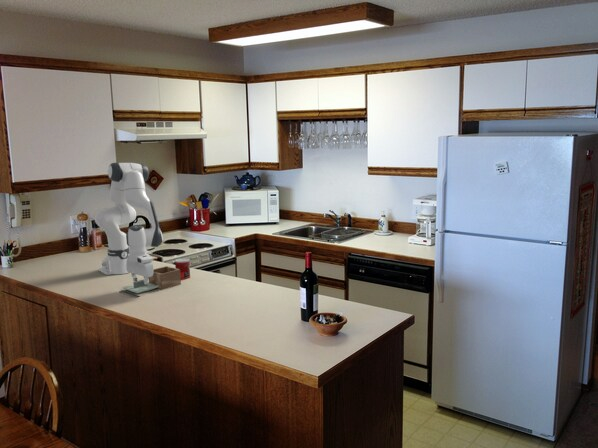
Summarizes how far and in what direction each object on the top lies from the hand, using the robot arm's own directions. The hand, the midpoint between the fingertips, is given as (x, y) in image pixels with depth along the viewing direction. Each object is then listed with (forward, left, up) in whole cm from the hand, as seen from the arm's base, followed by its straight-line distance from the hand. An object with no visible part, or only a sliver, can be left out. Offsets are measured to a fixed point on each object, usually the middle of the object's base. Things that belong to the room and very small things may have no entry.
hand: (140, 282), depth 287 cm
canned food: (-1, +28, -5) cm, 28 cm away
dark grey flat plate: (0, 0, -5) cm, 5 cm away
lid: (0, 0, -4) cm, 4 cm away
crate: (+3, +13, -5) cm, 14 cm away
